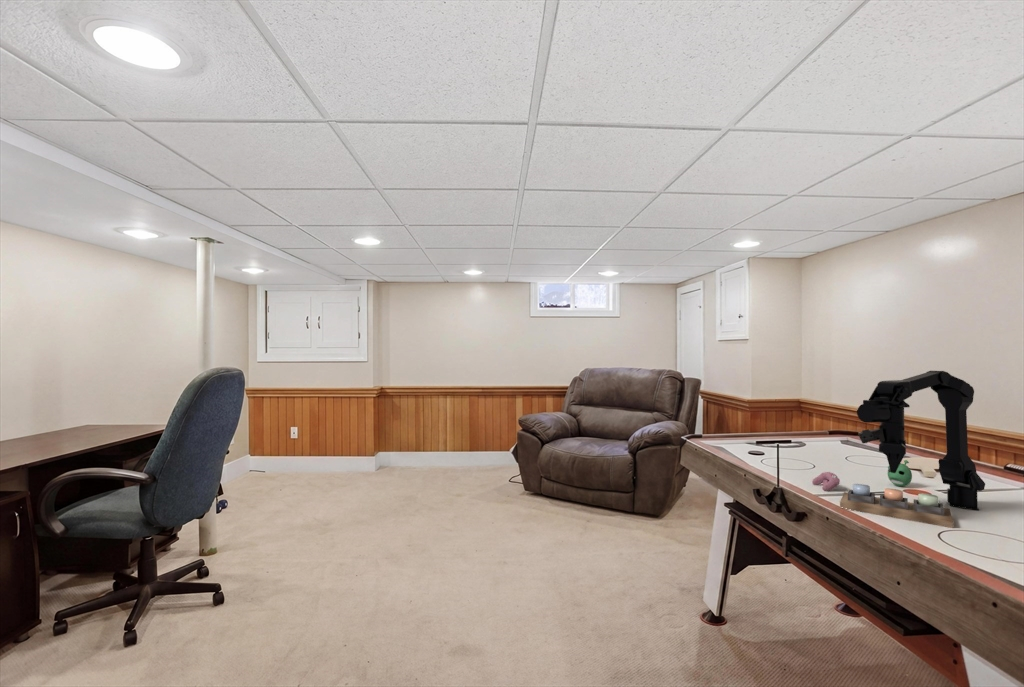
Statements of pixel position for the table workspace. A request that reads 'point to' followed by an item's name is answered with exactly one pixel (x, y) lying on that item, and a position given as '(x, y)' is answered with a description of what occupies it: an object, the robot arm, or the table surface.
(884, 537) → the table surface
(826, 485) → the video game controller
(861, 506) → the button panel
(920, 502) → the sage button
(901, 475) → the alien toy
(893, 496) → the terracotta button
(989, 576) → the table surface
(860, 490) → the slate button
